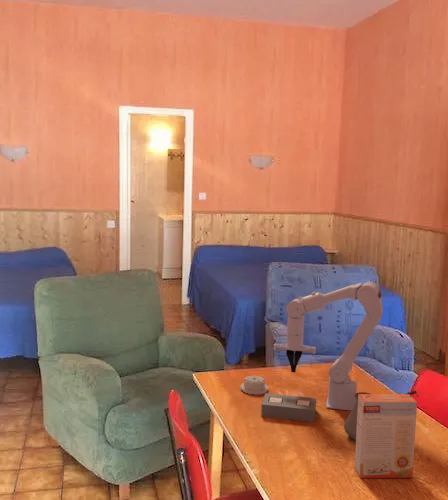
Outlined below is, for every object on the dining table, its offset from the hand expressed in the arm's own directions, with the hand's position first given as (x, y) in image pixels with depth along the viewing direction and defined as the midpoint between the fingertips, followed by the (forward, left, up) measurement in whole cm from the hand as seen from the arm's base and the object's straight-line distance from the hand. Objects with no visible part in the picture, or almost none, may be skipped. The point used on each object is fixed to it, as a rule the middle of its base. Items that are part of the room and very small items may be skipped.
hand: (293, 371), depth 199 cm
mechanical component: (+14, -3, -10) cm, 18 cm away
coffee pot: (-28, +25, -10) cm, 39 cm away
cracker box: (-27, +46, -10) cm, 55 cm away
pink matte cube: (-4, +14, -9) cm, 17 cm away
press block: (0, +14, -9) cm, 17 cm away
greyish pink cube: (+5, +14, -9) cm, 17 cm away
